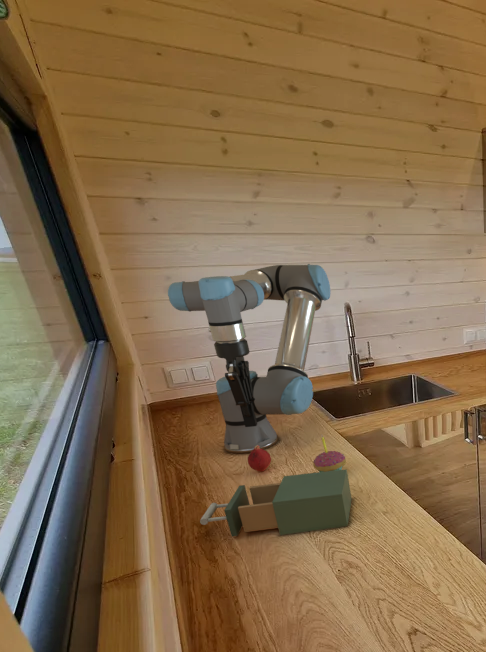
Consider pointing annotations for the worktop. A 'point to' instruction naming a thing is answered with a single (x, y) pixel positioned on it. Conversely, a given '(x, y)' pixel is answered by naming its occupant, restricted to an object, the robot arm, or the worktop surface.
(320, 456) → the cupcake
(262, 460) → the onion
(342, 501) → the cabinet
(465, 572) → the worktop surface
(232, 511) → the drawer
